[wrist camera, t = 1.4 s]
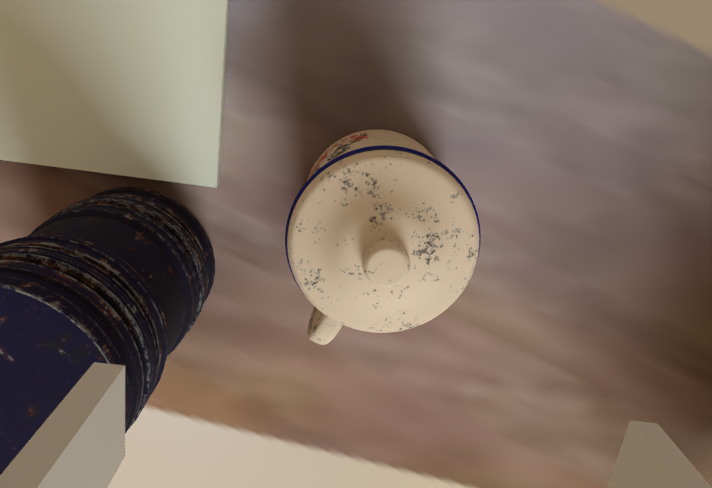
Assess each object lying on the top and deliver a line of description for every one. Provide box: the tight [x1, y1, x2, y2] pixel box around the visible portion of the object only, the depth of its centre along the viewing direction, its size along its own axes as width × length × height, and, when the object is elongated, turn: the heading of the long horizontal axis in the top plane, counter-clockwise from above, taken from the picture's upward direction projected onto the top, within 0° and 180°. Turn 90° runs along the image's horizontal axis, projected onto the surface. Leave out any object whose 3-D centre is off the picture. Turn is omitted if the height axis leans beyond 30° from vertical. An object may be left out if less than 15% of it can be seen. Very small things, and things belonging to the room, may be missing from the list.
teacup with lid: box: [285, 129, 480, 345], centre depth 29 cm, size 12×9×12 cm
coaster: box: [0, 0, 229, 188], centre depth 31 cm, size 14×14×1 cm
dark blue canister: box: [0, 187, 215, 475], centre depth 28 cm, size 10×10×15 cm
